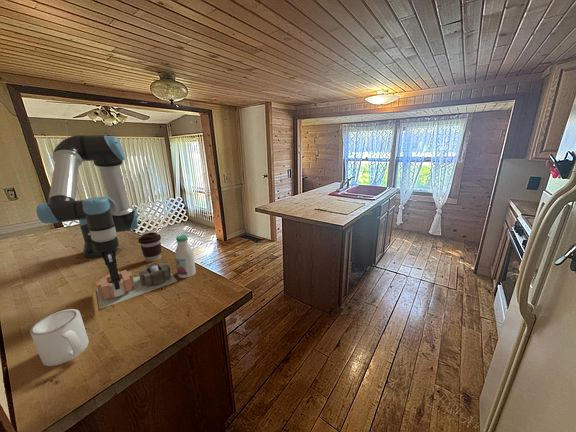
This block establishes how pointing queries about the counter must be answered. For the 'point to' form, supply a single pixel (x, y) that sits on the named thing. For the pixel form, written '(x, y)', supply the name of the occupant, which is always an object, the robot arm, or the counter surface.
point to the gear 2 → (155, 275)
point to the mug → (60, 337)
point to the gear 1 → (105, 287)
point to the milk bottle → (184, 258)
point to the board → (134, 292)
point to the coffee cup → (151, 246)
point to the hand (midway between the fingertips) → (117, 288)
